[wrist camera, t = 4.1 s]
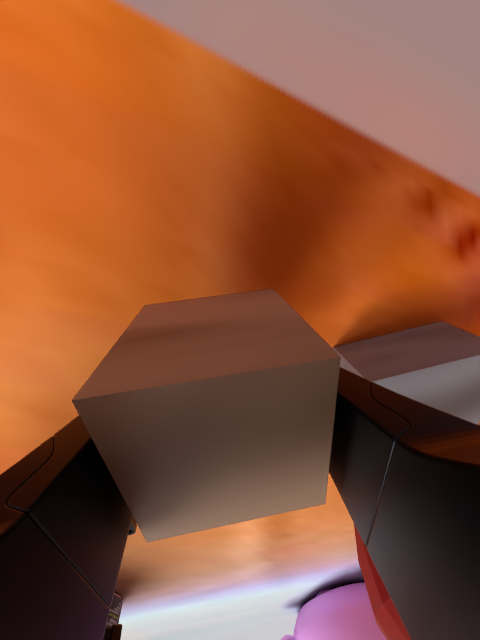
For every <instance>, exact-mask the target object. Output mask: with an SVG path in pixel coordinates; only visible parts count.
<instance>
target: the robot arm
mask: <svg viewBox="0 0 480 640" xmlns="http://www.w3.org/2000/svg"><path fill="white" fill-rule="evenodd" d="M329 473H330V475H331V477H332V479H333V481H334V483H335V485H336V487H337V489H338V491H339V493H340V495H341V497H342V499H343V501H344V503H345V505H346V507H347V510H348V512H349V514H350V516H351V518H352V520H353V522H354V524H355V526H356V528H357V530H358V532H359V534H360V536H361V538H362V540H363V542H364V544H365V546H367V550H368V552H369V554H370V557H371V559H372V561H373V563H374V565H375V567H376V569H377V571H378V573H379V575H380V577H381V579H382V581H383V583H384V585H385V587H386V589H387V591H388V593H389V595H390V597H391V599H392V601H393V603H394V605H395V607H396V609H397V611H398V613H399V615H400V617H401V619H402V622H403V624H404V626H405V628H406V630H407V632H408V634H409V636H410V638H411V640H480V425H477V424H474V423H472V422H469V421H467V420H464V419H461V418H459V417H456V416H454V415H451V414H449V413H446V412H444V411H441V410H438V409H436V408H433V407H431V406H428V405H426V404H423V403H421V402H418V401H416V400H413V399H411V398H408V397H406V396H403V395H401V394H398V393H396V392H394V391H392V390H389V389H387V388H385V387H383V386H380V385H378V384H376V383H374V382H372V381H369V380H367V379H365V378H363V377H361V376H359V375H357V374H354V373H352V372H350V371H348V370H346V369H344V368H341V367H340V370H339V379H338V389H337V398H336V408H335V417H334V426H333V436H332V445H331V455H330V464H329ZM132 516H133V515H132V513H131V511H130V509H129V508H128V506H127V504H126V502H125V500H124V498H123V496H122V494H121V492H120V491H119V489H118V487H117V485H116V483H115V481H114V479H113V477H112V475H111V474H110V472H109V470H108V468H107V466H106V464H105V462H104V460H103V458H102V457H101V455H100V453H99V451H98V449H97V447H96V445H95V443H94V441H93V440H92V438H91V436H90V434H89V432H88V430H87V428H86V426H85V424H84V423H83V421H82V419H81V417H80V415H79V416H78V417H76V418H75V419H74V420H72V421H71V422H70V423H69V424H67V425H66V426H65V427H63V428H62V429H61V430H59V431H58V432H57V433H56V434H54V436H52V437H50V438H49V439H48V440H46V441H45V442H44V443H42V444H41V445H40V446H39V447H37V448H36V449H35V450H33V451H32V452H31V453H29V454H28V455H27V456H25V457H24V458H23V459H21V460H20V461H19V462H17V463H16V464H14V465H13V466H12V467H10V468H9V469H7V470H6V471H5V472H3V473H2V474H0V640H120V638H121V630H122V624H113V625H112V626H106V624H107V620H108V616H109V612H110V608H109V607H110V606H111V603H112V599H113V594H114V590H115V586H116V582H117V578H118V574H119V570H120V565H121V561H122V557H123V553H124V549H125V545H126V540H127V536H128V535H131V534H134V533H135V531H136V527H137V525H136V523H135V521H134V519H133V517H132Z"/></svg>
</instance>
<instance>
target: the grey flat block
mask: <svg viewBox="0 0 480 640" xmlns="http://www.w3.org/2000/svg"><path fill="white" fill-rule="evenodd" d="M333 350H334V351H335V352H336V353H337V354H338V355H339V356H340V357H341V360H340V367H341V368H344V369H346V370H348V371H350V372H352V373H354V374H357V375H359V376H361V377H363V378H365V379H367V380H369V381H372V382H374V383H376V384H378V385H380V386H383V387H385V388H387V389H389V390H392V391H394V392H396V393H398V394H401V395H403V396H406V397H408V398H411V399H413V400H416V401H418V402H421V403H423V404H426V405H428V406H431V407H433V408H436V409H438V410H441V411H444V412H446V413H449V414H451V415H454V416H456V417H459V418H461V419H464V420H467V421H469V422H472V423H474V424H477V425H478V424H479V421H480V337H479V336H476V335H474V334H472V333H469V332H467V331H464V330H462V329H460V328H457V327H455V326H453V325H450V324H448V323H445V322H443V321H441V322H436V323H432V324H428V325H424V326H420V327H415V328H411V329H407V330H403V331H399V332H394V333H390V334H386V335H382V336H378V337H373V338H369V339H365V340H361V341H357V342H352V343H348V344H344V345H340V346H336V347H333Z"/></svg>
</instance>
